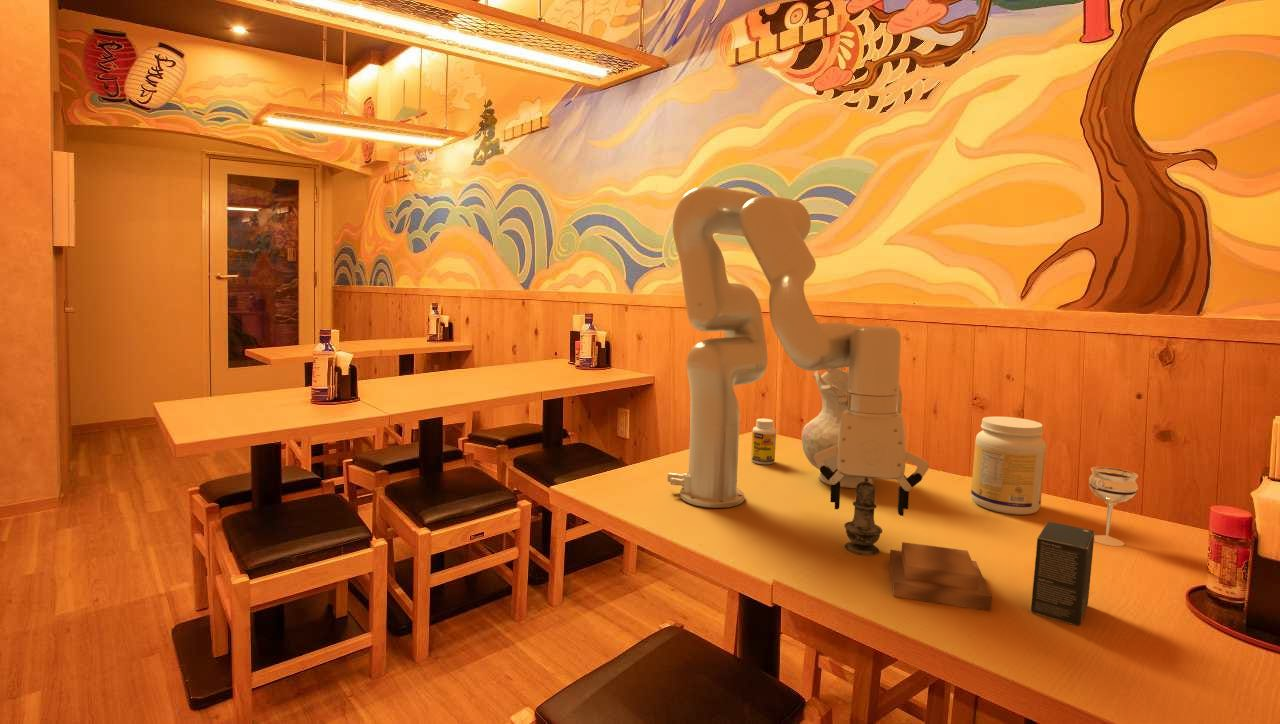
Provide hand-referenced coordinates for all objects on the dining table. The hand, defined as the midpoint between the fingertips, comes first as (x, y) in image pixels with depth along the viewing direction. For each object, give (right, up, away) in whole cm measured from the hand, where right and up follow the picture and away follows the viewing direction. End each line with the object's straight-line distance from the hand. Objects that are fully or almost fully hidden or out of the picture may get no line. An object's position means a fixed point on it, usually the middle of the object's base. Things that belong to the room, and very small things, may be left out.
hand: (868, 509), depth 107 cm
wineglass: (+43, -7, +7) cm, 44 cm away
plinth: (+6, -8, -11) cm, 15 cm away
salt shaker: (-1, -7, +1) cm, 7 cm away
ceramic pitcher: (+9, -3, +38) cm, 39 cm away
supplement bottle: (-7, 0, +52) cm, 53 cm away
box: (+20, -10, -17) cm, 28 cm away
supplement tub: (+35, -5, +24) cm, 43 cm away
